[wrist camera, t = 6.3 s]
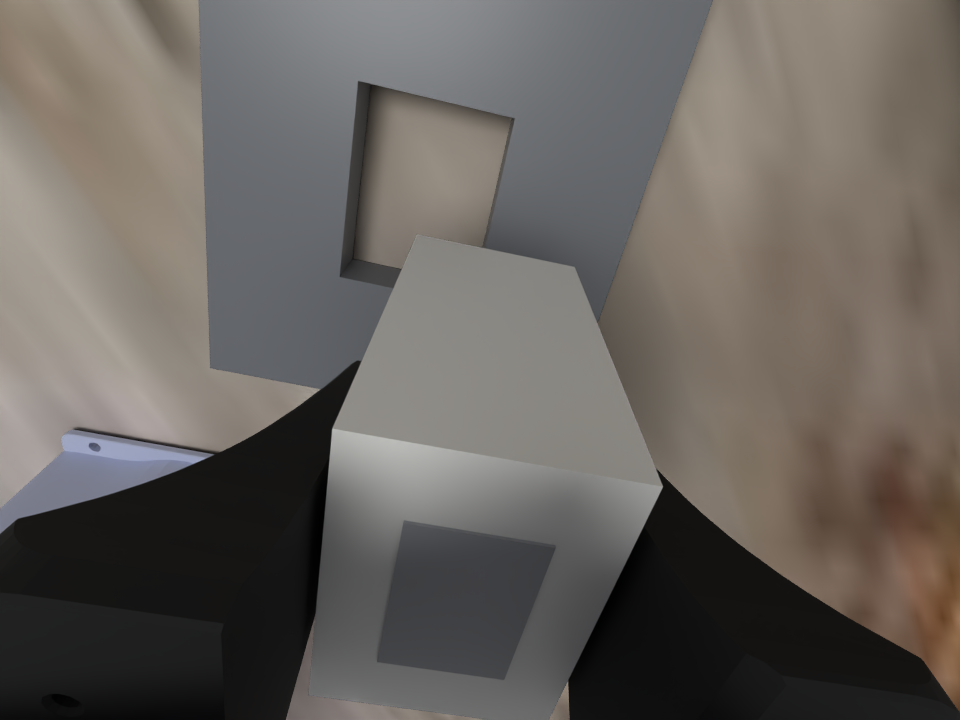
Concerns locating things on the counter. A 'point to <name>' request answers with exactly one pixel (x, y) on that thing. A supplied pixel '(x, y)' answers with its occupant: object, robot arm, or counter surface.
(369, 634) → the plug
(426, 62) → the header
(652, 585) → the robot arm
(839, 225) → the counter surface
